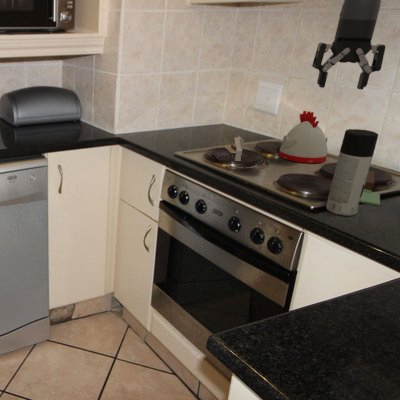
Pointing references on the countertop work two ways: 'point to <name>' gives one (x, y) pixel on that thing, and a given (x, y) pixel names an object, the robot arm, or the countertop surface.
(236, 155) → the architectural model
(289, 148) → the kitchen timer
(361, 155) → the spray can
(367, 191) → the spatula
